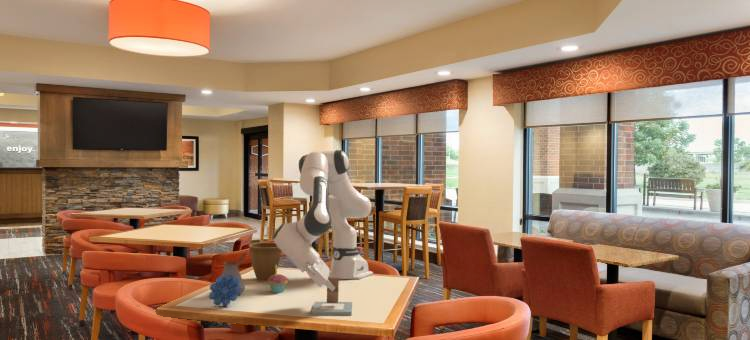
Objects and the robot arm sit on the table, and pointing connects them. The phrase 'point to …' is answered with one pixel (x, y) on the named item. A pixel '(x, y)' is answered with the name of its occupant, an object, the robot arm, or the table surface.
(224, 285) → the grapes
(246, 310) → the table surface
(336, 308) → the plate
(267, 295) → the table surface
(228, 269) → the coffee pot
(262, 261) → the plant pot
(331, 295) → the walnut block
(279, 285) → the cupcake
